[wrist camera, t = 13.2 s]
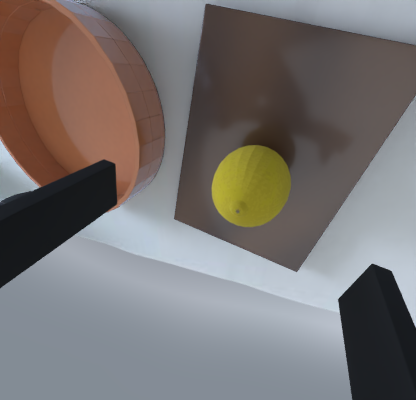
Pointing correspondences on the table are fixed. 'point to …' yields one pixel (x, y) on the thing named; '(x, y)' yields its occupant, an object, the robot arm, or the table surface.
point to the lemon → (251, 186)
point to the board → (289, 120)
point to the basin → (76, 95)
